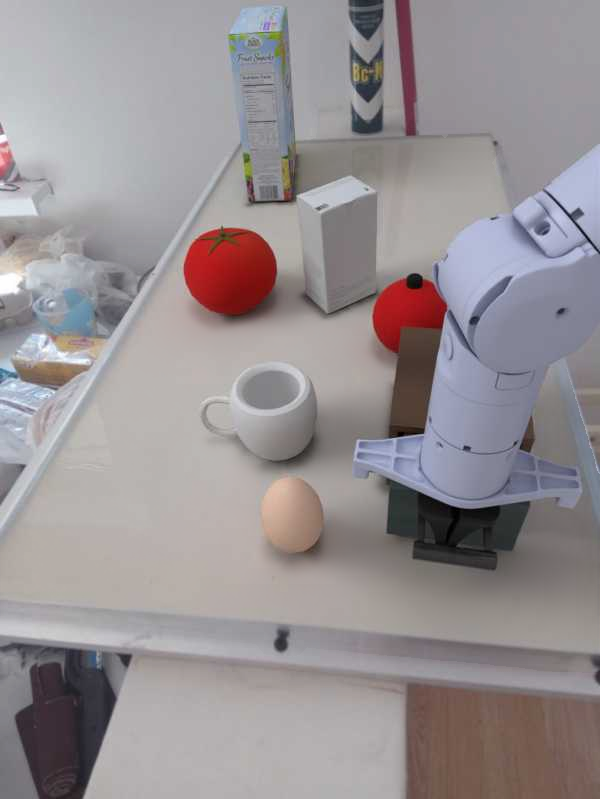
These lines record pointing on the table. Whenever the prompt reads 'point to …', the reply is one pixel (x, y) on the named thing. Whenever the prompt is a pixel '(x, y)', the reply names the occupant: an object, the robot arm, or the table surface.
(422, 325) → the ornament
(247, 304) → the tomato
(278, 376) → the mug
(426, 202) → the table surface
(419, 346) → the cabinet
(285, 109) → the snack box
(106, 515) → the table surface
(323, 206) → the cosmetic box
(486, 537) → the drawer
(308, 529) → the egg
